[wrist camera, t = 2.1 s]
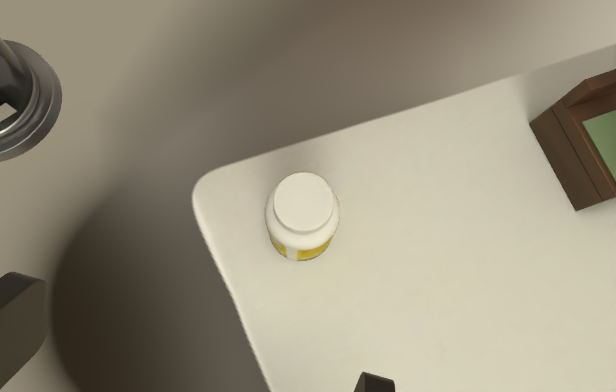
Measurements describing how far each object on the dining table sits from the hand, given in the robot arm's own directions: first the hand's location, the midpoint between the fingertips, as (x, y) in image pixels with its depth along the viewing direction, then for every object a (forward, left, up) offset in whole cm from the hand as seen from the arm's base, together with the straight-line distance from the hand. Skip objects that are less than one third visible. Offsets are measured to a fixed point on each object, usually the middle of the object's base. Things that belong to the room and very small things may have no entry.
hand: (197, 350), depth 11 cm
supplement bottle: (-4, +7, -25) cm, 27 cm away
